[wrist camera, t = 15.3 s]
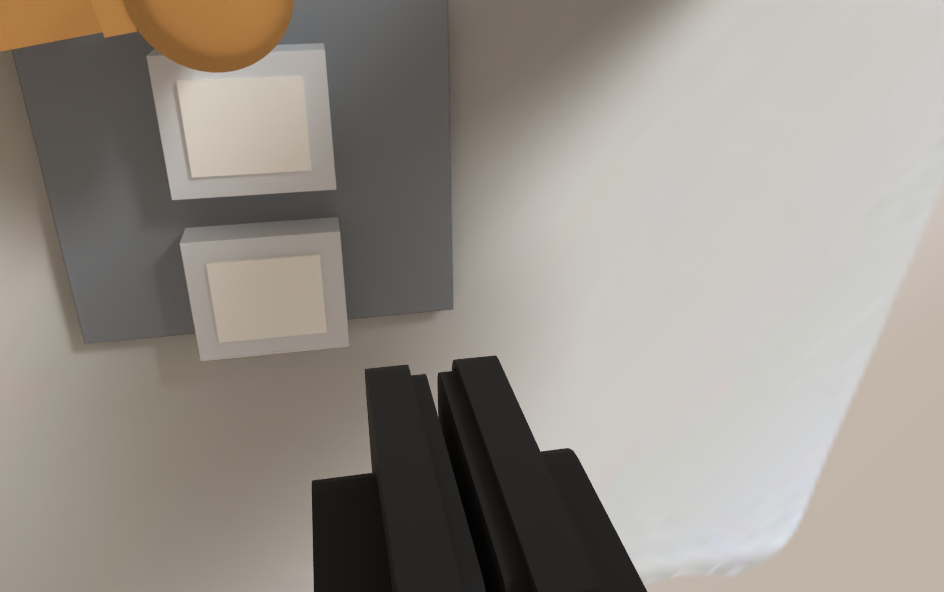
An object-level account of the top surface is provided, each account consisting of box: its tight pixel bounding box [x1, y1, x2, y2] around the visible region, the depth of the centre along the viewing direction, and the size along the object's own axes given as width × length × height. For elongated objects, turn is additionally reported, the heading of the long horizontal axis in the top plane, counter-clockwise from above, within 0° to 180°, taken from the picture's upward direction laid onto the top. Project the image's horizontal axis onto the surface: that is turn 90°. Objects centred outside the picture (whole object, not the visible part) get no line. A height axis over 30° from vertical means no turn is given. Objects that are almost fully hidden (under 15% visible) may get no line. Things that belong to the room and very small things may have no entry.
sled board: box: [12, 0, 453, 361], centre depth 33 cm, size 18×18×8 cm
